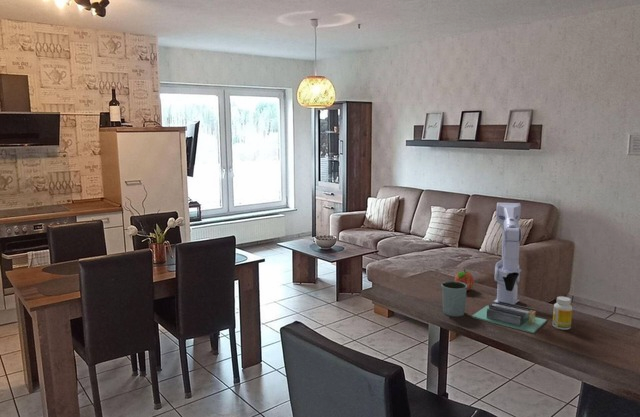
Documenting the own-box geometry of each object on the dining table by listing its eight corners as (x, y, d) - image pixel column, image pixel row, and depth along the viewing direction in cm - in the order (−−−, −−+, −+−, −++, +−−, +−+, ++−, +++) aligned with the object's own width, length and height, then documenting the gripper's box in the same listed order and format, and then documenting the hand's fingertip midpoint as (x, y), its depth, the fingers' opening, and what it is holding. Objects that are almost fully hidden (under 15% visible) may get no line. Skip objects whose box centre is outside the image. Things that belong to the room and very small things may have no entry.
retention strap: (490, 306, 195) (490, 305, 195) (493, 305, 197) (493, 303, 197) (527, 315, 185) (527, 313, 185) (529, 313, 187) (529, 311, 187)
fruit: (449, 288, 229) (450, 268, 227) (465, 285, 233) (465, 265, 231) (462, 294, 221) (463, 273, 219) (478, 290, 225) (479, 270, 224)
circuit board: (487, 306, 205) (487, 305, 205) (546, 321, 190) (546, 319, 190) (471, 317, 194) (471, 315, 194) (533, 333, 179) (533, 331, 178)
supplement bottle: (548, 325, 186) (550, 297, 184) (559, 322, 188) (562, 294, 186) (563, 331, 180) (565, 302, 178) (574, 328, 183) (576, 299, 181)
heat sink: (496, 309, 201) (497, 298, 200) (538, 319, 190) (539, 307, 189) (484, 317, 192) (485, 306, 191) (528, 328, 181) (528, 316, 180)
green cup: (467, 318, 194) (468, 289, 192) (441, 316, 196) (441, 288, 194) (464, 308, 204) (465, 281, 202) (440, 307, 206) (440, 280, 204)
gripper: (514, 262, 184) (512, 297, 186) (527, 255, 195) (525, 288, 197) (496, 259, 189) (494, 293, 191) (510, 253, 200) (508, 284, 202)
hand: (509, 290), depth 194 cm, fingers closed
